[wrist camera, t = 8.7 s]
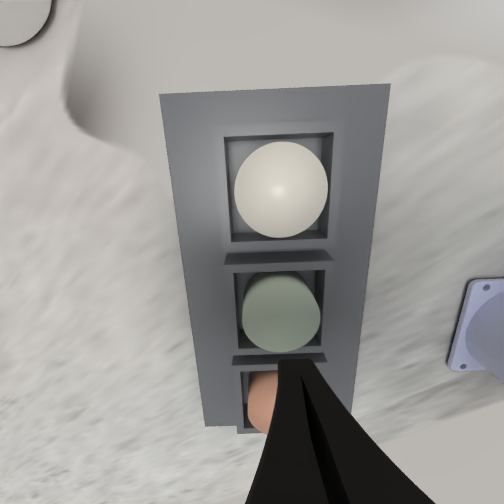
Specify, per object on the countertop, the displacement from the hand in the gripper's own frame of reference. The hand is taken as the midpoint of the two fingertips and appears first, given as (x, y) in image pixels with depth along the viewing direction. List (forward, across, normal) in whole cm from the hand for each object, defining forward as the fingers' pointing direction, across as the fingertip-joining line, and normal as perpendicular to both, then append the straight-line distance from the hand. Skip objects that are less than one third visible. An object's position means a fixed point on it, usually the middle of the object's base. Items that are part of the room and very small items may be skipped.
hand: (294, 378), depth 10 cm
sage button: (+6, 0, 0) cm, 6 cm away
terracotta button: (+6, 0, +7) cm, 9 cm away
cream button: (+6, 0, -7) cm, 9 cm away
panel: (+8, 0, 0) cm, 8 cm away
